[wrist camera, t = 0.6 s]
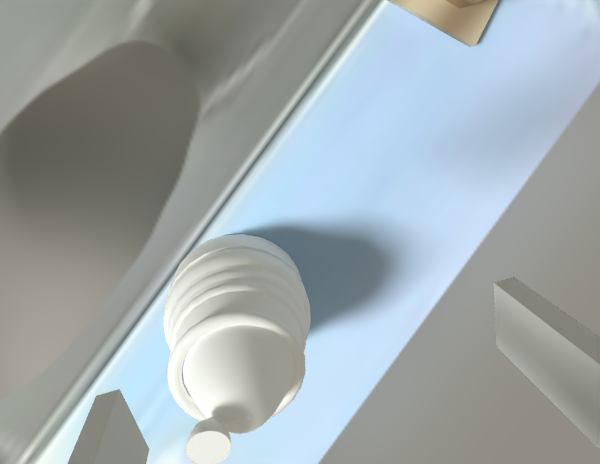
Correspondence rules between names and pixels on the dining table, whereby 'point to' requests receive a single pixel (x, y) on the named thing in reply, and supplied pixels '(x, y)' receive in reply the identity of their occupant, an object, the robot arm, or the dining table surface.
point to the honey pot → (234, 339)
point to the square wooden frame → (452, 16)
